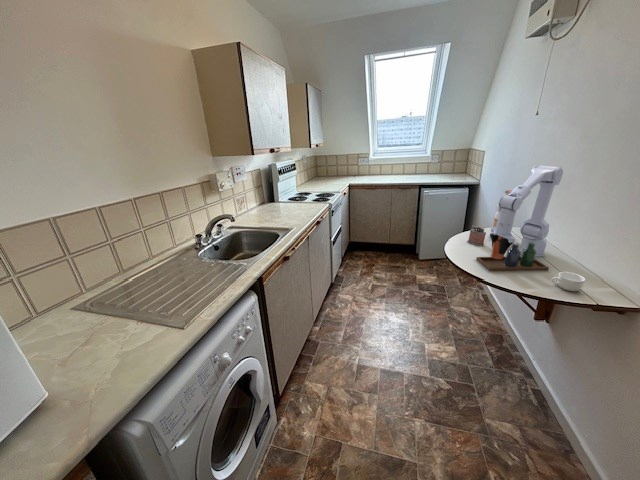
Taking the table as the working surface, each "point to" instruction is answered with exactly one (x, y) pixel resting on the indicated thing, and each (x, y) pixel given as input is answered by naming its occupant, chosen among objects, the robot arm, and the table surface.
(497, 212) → the fruit juice
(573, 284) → the teacup
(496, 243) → the terracotta bottle
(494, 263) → the tray
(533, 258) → the green bottle
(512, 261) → the slate-blue bottle
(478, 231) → the lighter
